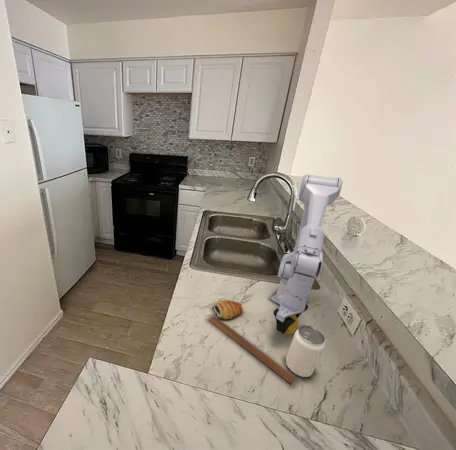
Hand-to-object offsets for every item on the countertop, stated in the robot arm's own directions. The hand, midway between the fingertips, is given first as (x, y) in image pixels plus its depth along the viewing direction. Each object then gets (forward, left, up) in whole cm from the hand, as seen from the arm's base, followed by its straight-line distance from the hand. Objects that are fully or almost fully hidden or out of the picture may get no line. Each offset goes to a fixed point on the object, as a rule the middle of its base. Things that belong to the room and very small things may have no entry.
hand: (285, 326), depth 77 cm
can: (+8, +8, -2) cm, 12 cm away
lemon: (0, 0, -2) cm, 2 cm away
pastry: (+7, -16, -2) cm, 18 cm away
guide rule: (+14, -4, -2) cm, 14 cm away
